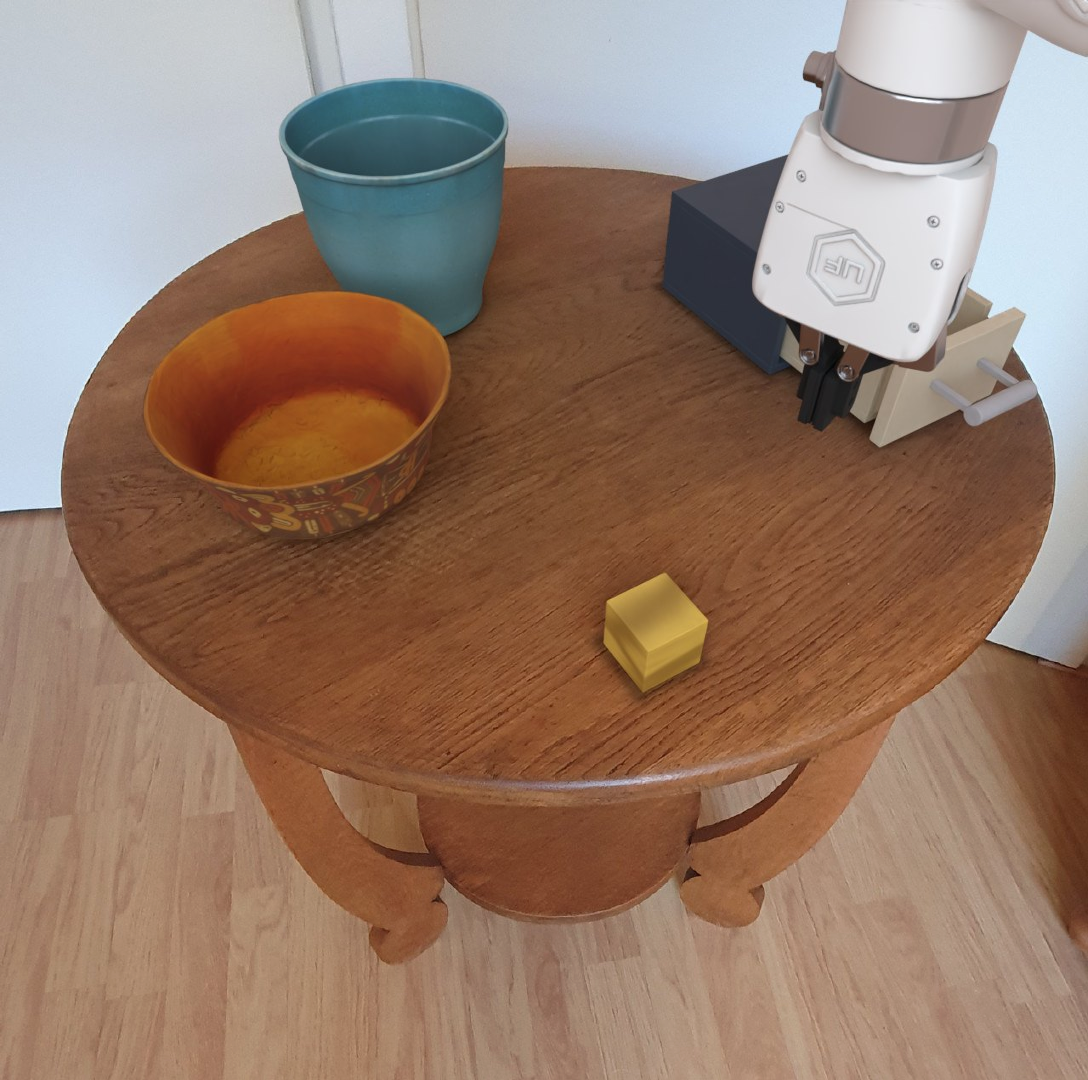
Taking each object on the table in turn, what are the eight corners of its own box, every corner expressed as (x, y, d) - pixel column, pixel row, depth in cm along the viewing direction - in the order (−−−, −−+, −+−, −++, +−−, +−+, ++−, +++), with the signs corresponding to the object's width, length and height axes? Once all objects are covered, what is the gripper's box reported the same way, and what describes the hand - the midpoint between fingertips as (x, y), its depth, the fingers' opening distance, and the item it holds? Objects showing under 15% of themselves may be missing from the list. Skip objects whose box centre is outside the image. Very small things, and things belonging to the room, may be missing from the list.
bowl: (161, 599, 64) (111, 496, 57) (202, 399, 78) (166, 295, 71) (469, 574, 66) (459, 470, 58) (455, 381, 80) (446, 278, 72)
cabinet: (886, 326, 85) (917, 229, 78) (769, 375, 80) (791, 276, 73) (772, 246, 94) (791, 153, 87) (661, 286, 89) (671, 191, 82)
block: (699, 662, 61) (708, 620, 57) (642, 693, 59) (648, 651, 56) (659, 614, 63) (665, 571, 60) (602, 643, 62) (606, 600, 58)
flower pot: (304, 270, 91) (265, 91, 78) (484, 240, 95) (474, 63, 82) (335, 383, 80) (294, 194, 67) (538, 343, 83) (537, 157, 70)
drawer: (1040, 429, 74) (1082, 348, 68) (927, 487, 70) (962, 405, 64) (864, 307, 85) (888, 228, 80) (758, 350, 81) (774, 270, 75)
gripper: (724, 89, 44) (681, 396, 58) (1044, 189, 38) (911, 506, 51) (802, 40, 48) (745, 338, 62) (1104, 124, 42) (965, 434, 55)
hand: (820, 414), depth 57 cm, fingers closed
